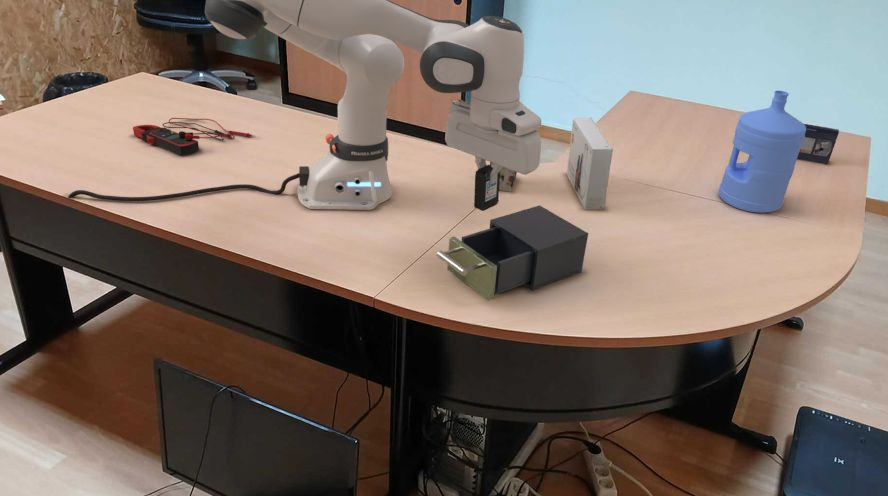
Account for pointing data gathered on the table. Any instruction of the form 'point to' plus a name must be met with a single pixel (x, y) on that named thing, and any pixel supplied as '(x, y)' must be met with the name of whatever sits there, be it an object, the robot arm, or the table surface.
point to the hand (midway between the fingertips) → (487, 180)
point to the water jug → (763, 158)
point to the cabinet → (546, 243)
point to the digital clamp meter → (178, 137)
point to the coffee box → (507, 179)
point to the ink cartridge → (485, 189)
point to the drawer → (489, 261)
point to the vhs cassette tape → (818, 144)
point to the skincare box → (589, 163)
